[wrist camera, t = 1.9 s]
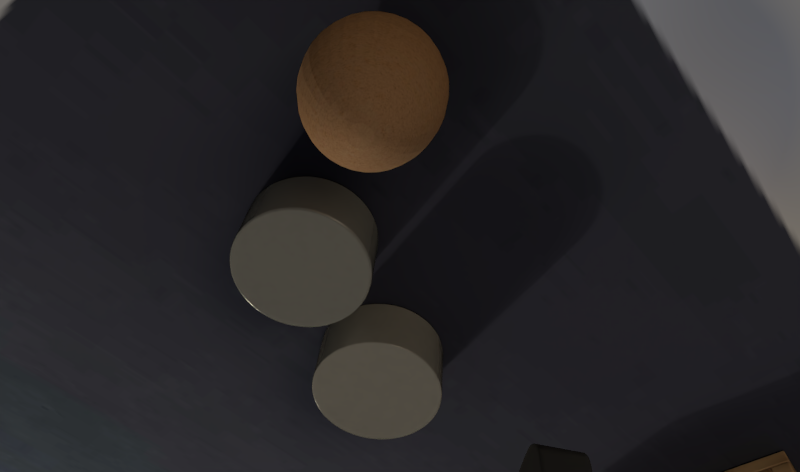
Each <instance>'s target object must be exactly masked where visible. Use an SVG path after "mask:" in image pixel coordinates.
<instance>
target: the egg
mask: <svg viewBox="0 0 800 472" xmlns="http://www.w3.org/2000/svg"><path fill="white" fill-rule="evenodd" d="M296 92H297V101H298V110H299V115H300V118H301V121H302V124H303V126H304V128H305V130H306V132H307V134H308V136H309V137H310V139H311V141H312V142H313V144H314V145H315V146H316V147H317V148H318V150H319V151H320V152H321V153H322V154H324V155H325V156H326V157H327V158H328V159H330V160H331V161H333V162H335V163H336V164H338V165H340V166H342V167H345V168H348V169H350V170H354V171H360V172H382V171H387V170H391V169H393V168H396V167H398V166H401V165H403V164H405V163H407V162H408V161H410V160H411V159H413V158H415V157H416V156H417V155H418V154H419V153H421V152H422V151H423V150H424V149H425V148H426V147H427V145H428V144H429V143H430V142H431V140H432V139H433V137H434V136H435V135H436V133H437V132H438V130H439V128H440V126H441V124H442V122H443V119H444V117H445V112H446V107H447V102H448V97H449V79H448V74H447V70H446V66H445V64H444V61H443V59H442V57H441V54H440V52H439V50H438V48H437V47H436V45H435V44H434V43H433V41H432V40H431V38H430V37H429V36H428V35H427V34H426V33H425V32H424V31H423V30H422V29H421V28H420V27H419V26H417V25H415V24H414V23H412V22H411V21H409V20H408V19H406V18H403V17H401V16H398V15H395V14H392V13H387V12H381V11H364V12H360V13H355V14H351V15H349V16H346V17H344V18H342V19H340V20H338V21H336V22H334V23H333V24H331V25H330V26H329V27H327V28H326V29H324V30H323V31H322V32H321V33H320V34H319V35H318V36H317V37H316V38H315V40H314V41H313V42H312V43H311V45H310V47H309V48H308V50H307V52H306V54H305V56H304V59H303V61H302V64H301V67H300V71H299V74H298V78H297V89H296Z"/></svg>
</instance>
